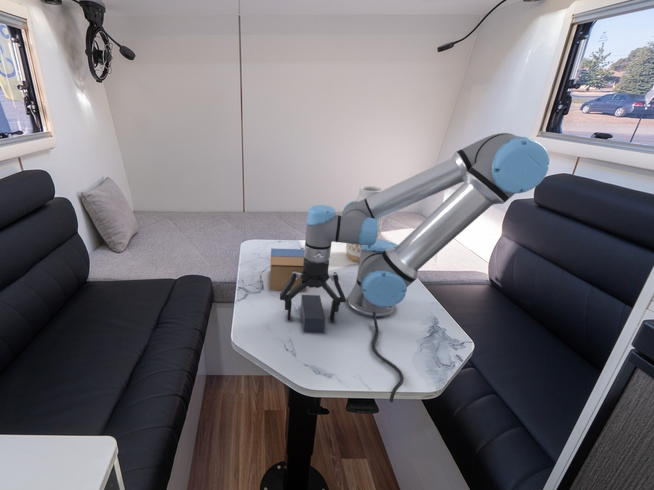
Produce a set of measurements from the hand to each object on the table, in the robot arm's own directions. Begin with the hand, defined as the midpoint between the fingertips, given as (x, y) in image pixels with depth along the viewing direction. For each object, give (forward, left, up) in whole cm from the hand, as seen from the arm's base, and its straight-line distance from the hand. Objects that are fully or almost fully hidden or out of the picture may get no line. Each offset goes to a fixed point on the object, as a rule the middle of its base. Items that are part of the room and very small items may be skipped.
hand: (310, 319), depth 119 cm
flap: (+30, +7, +10) cm, 32 cm away
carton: (+26, +7, 0) cm, 27 cm away
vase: (+50, -26, 0) cm, 56 cm away
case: (0, 0, 0) cm, 0 cm away
